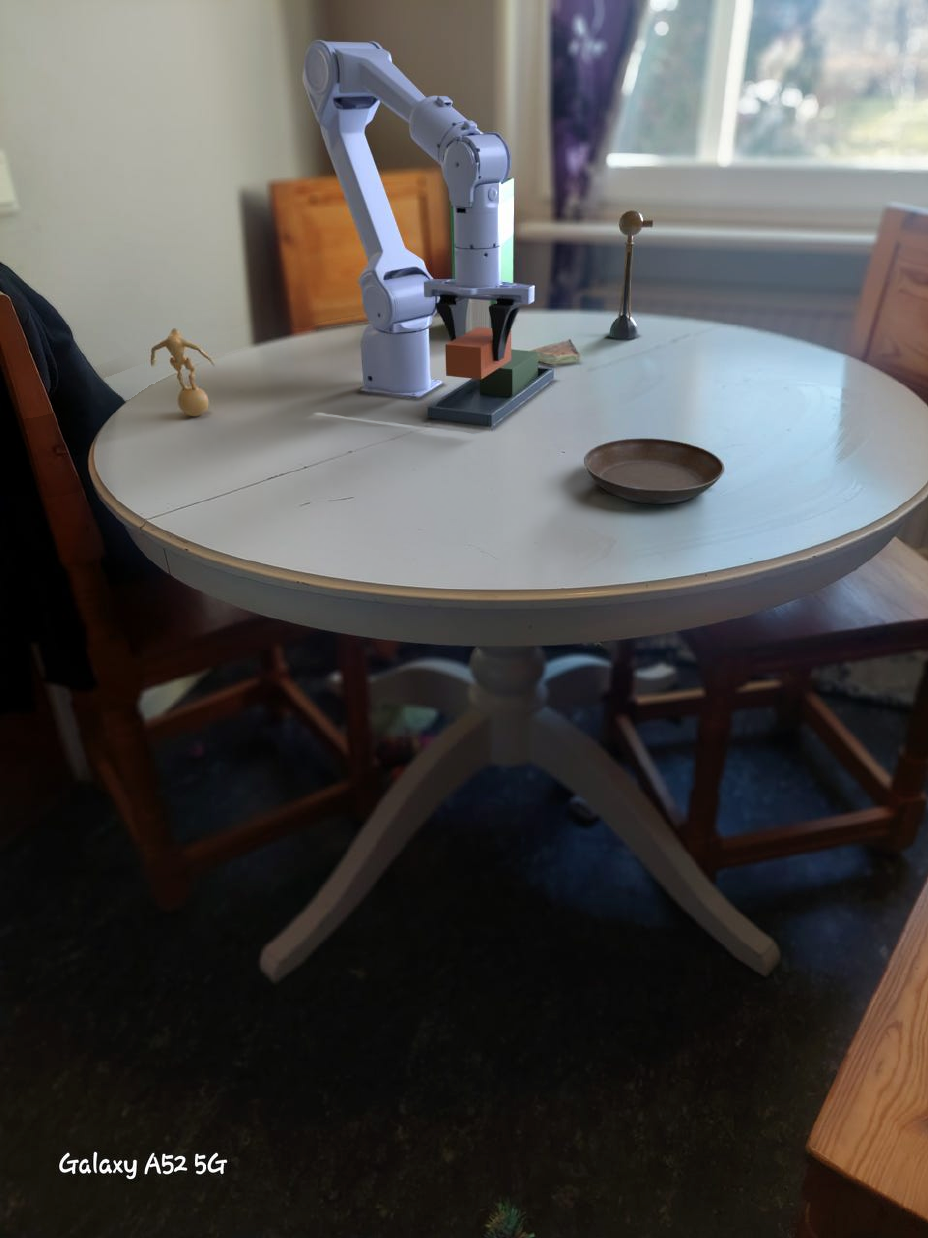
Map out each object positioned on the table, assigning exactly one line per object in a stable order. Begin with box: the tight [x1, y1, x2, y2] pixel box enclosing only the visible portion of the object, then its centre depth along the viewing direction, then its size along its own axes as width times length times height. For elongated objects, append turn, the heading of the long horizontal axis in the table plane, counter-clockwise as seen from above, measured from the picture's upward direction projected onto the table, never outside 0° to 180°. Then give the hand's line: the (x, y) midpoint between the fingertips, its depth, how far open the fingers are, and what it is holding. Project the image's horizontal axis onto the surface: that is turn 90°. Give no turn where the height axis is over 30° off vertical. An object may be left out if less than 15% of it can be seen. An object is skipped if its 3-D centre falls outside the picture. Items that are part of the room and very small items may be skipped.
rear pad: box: [480, 348, 539, 398], centre depth 125 cm, size 5×10×4 cm, turn 155°
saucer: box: [583, 437, 726, 505], centre depth 94 cm, size 15×15×3 cm
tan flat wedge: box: [530, 338, 581, 366], centre depth 140 cm, size 11×8×2 cm
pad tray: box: [426, 366, 555, 428], centre depth 122 cm, size 9×23×2 cm, turn 155°
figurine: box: [150, 328, 215, 417], centre depth 115 cm, size 8×6×12 cm
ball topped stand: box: [608, 209, 654, 340], centre depth 147 cm, size 6×5×20 cm
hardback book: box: [450, 177, 515, 333], centre depth 152 cm, size 18×7×24 cm, turn 168°
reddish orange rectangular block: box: [444, 327, 512, 380], centre depth 114 cm, size 5×10×4 cm, turn 155°
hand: (478, 357), depth 114 cm, fingers closed on reddish orange rectangular block, 5 cm apart
